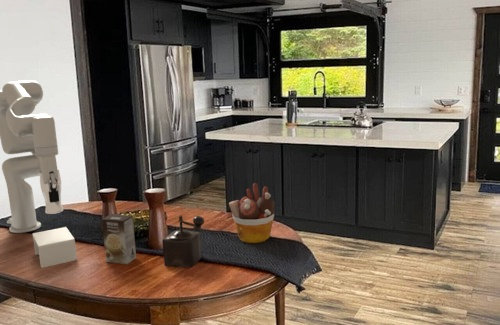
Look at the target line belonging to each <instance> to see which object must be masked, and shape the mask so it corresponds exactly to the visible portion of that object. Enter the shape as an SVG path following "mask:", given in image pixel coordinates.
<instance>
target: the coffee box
mask: <svg viewBox="0 0 500 325" xmlns="http://www.w3.org/2000/svg"><path fill="white" fill-rule="evenodd" d="M101 225H102V232H103V233H102V234H103V235H102V236H103V243H104V253H105V262H106V263H112V264H113V263H114V264H121V265H123V264H124V265H128V264H129V263H131V262H132V261H134V260H135V259H136V258H137V254H136V252H137V251H136V241H135V230H134V229H135V228H134V216H133V215H131V214H120V213H119V214H118V213H110V214H109V215H107V216H105V217H103V218H102V219H101Z"/></svg>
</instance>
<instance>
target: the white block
mask: <svg viewBox="0 0 500 325" xmlns="http://www.w3.org/2000/svg"><path fill="white" fill-rule="evenodd" d="M31 235H32V240H33V247H34V254H35V255H36V256H37V255H38V256H39V263H40V268H41V269H42V268H47V267H52V266H56V265H61V264H64V263H69V262H74V261H78V258H77V257H78V255H77V247H76V240H75V237H74V236H73V235H72V233H71V232H70V230H69V229H68V228H67V226H63V227H58V228H54V229H53V228H52V229H49V230H44V231H39V232H33V233H32V234H31Z"/></svg>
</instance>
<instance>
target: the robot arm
mask: <svg viewBox="0 0 500 325" xmlns="http://www.w3.org/2000/svg"><path fill="white" fill-rule="evenodd" d="M43 96H44V92H43V87H42V86H41V84H40V83H39V82H38V81H36V80H18V81H17V80H16V81H9V82H7V83H5V84H3V86H2V89H1V90H0V143H1V147H2V148H1V149H2V150H3V152H4V153H5V154H7V155H17V154H24V153H31V154H29V155H23V156H16V157H10V158H7V159H5V160H4V161H3V162H2V164H1V171H2V174H3V176H4V180H5V183H6V188H7V194H8V200H9V207H10V214H11V217H9V218H8V220H6V224H10V227H9V228H8V229H9V232H10V233H13V234H14V233H15V234H22V233H28V232H33V231H36V230H38V229H40V228H41V227H42V223H41V222H40V221H38V220H37V214H36V206H35V200H34V192H33V187H32V185H31V184H29V182H27V181H26V180H25V179H28V178H34V177H35V178H36V177H40V172H41V173H42V180H43V183H44V184H46V183H48V187H49V200H50V203H52V202H58V201H59V193H58V188H57V182H58V170H59V169H58V164H57V158H56V156H57V155H59V148H58V140H57V131H56V122H55V119H54V117H53V116H51V115H49V114H47V113H39V114H33V112H34V111H35V110H36V106H38V104H40V102H42V100H43ZM56 179H57V181H56ZM50 180H51V183H49V181H50ZM51 184H52V185H51ZM50 185H51V187H50Z"/></svg>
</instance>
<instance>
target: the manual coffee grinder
mask: <svg viewBox="0 0 500 325" xmlns="http://www.w3.org/2000/svg"><path fill="white" fill-rule="evenodd" d="M178 222H179V229H178V230H176V229H175V230H174V231H172V232H170V233H169V234H168V235H167V236H165V237H164V238H163V239H162V242H161V243H162V250H163V264H164V266H165V267H173V268H193V267H194V266H195V265H196V264H197V263H198V262H199V261H200V260H201V258H202V257H203V255H202V254H203V252H202V240H201V238H202V237H201V232H200V231H201V230H202V226H203V225H204V224H205V218H204V217H202V216H201V215H196V216H195V217H193V219H192V222H193V223H191V222H188V221H184V219H183V215H179V216H178ZM183 224H184V225H186V226H191V227H193V230H194V231H192V230H191V231H189V230H188V229H187V230H186V229H184V228H183ZM201 256H202V257H201Z"/></svg>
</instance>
